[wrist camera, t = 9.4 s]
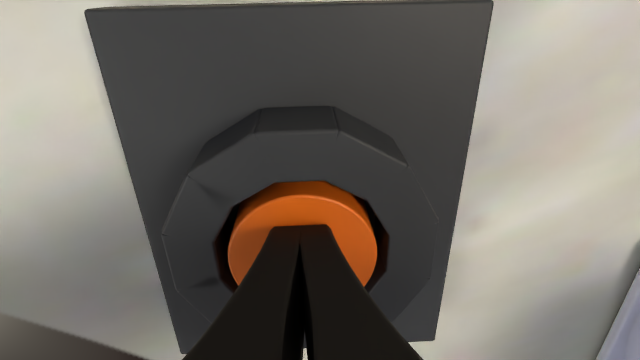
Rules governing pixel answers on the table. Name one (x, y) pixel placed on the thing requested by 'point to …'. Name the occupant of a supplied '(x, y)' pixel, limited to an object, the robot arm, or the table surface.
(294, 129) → the block
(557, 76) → the table surface
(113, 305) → the table surface
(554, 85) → the table surface
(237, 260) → the button
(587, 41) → the table surface
